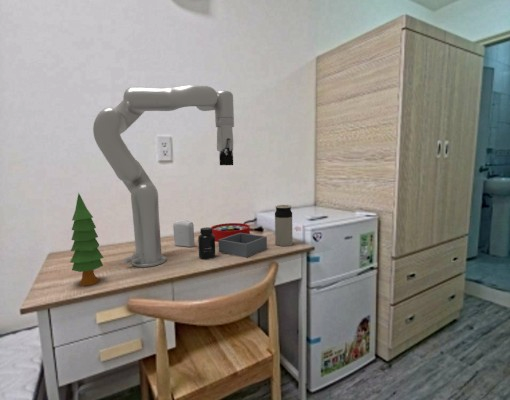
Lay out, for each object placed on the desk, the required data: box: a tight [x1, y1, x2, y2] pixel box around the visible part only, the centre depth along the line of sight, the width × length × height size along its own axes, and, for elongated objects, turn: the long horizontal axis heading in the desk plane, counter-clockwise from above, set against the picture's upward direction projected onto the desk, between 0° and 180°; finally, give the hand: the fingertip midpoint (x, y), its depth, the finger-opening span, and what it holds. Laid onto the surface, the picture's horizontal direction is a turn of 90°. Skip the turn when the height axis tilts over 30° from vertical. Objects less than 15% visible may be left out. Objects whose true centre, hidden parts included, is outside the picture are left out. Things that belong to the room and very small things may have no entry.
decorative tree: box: [69, 192, 104, 287], centre depth 99 cm, size 10×9×30 cm
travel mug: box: [274, 204, 294, 247], centre depth 139 cm, size 8×8×18 cm
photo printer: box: [172, 219, 195, 248], centre depth 141 cm, size 10×4×12 cm, turn 63°
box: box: [217, 233, 268, 259], centre depth 131 cm, size 15×15×6 cm
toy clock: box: [210, 222, 251, 243], centre depth 155 cm, size 20×6×20 cm
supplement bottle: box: [197, 226, 216, 260], centre depth 123 cm, size 7×7×12 cm
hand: (226, 165), depth 125 cm, fingers open, 9 cm apart
